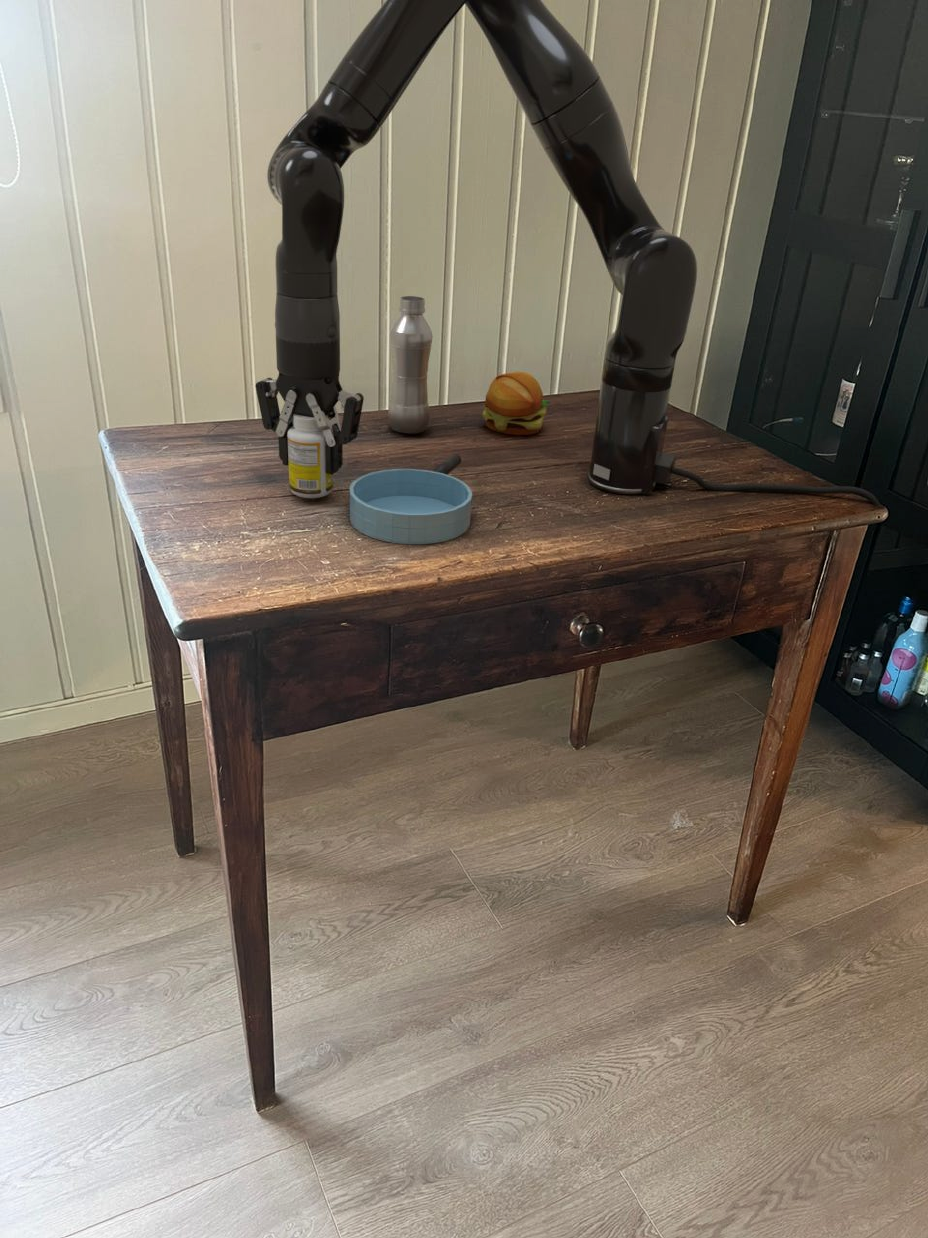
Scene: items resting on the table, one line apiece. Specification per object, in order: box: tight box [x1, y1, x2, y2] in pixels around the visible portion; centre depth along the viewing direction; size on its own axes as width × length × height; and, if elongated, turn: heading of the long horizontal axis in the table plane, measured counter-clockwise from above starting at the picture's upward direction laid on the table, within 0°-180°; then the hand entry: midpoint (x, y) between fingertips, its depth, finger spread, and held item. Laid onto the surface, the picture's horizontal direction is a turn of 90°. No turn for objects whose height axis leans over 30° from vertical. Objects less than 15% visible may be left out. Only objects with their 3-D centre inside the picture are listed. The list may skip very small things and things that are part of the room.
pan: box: [348, 468, 473, 545], centre depth 117 cm, size 15×15×4 cm
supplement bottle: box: [287, 414, 334, 499], centre depth 119 cm, size 6×6×10 cm
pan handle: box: [432, 453, 462, 475], centre depth 126 cm, size 9×2×2 cm, turn 159°
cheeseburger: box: [482, 371, 550, 436], centre depth 150 cm, size 10×11×10 cm
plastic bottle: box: [387, 295, 434, 435], centre depth 143 cm, size 6×7×20 cm
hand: (310, 467), depth 120 cm, fingers closed on supplement bottle, 5 cm apart
